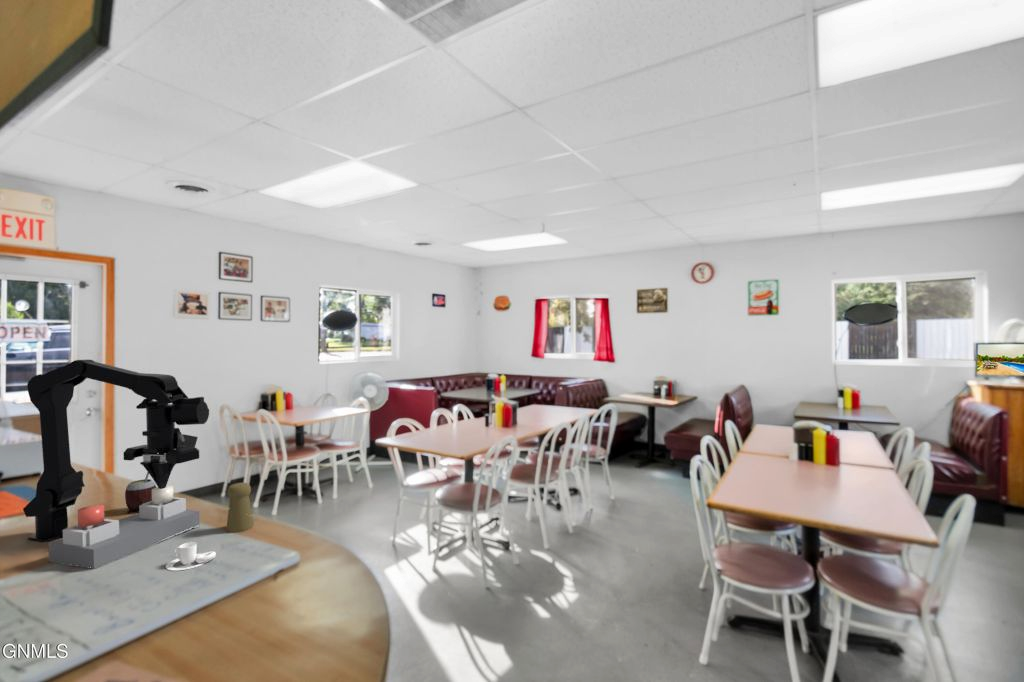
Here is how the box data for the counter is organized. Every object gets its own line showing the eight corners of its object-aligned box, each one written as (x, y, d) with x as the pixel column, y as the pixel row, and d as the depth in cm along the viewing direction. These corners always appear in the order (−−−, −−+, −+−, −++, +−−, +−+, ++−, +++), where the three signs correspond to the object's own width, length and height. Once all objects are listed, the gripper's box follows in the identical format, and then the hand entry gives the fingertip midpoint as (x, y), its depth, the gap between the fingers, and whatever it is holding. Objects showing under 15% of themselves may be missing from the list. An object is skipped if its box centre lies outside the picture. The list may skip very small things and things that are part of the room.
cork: (241, 533, 120) (240, 487, 120) (220, 531, 122) (219, 486, 122) (259, 523, 126) (258, 480, 126) (238, 522, 127) (237, 480, 127)
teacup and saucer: (222, 558, 107) (222, 539, 107) (187, 575, 99) (187, 555, 99) (192, 554, 110) (192, 535, 110) (156, 570, 102) (156, 550, 102)
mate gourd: (124, 510, 140) (123, 457, 140) (158, 503, 145) (157, 452, 145) (127, 516, 134) (125, 461, 134) (162, 509, 140) (161, 456, 140)
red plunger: (73, 525, 107) (72, 510, 107) (95, 518, 111) (95, 504, 111) (86, 527, 106) (86, 512, 106) (109, 520, 110) (108, 505, 110)
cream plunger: (147, 503, 122) (147, 490, 122) (165, 497, 127) (164, 485, 127) (160, 504, 121) (160, 491, 121) (177, 499, 125) (177, 486, 125)
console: (49, 561, 107) (48, 528, 107) (158, 521, 130) (158, 494, 130) (94, 569, 103) (93, 535, 103) (199, 526, 125) (198, 498, 125)
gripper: (217, 421, 128) (219, 481, 128) (164, 419, 134) (166, 477, 134) (176, 429, 118) (178, 494, 118) (121, 426, 124) (122, 489, 124)
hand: (162, 488), depth 124 cm, fingers closed, pressing on cream plunger
